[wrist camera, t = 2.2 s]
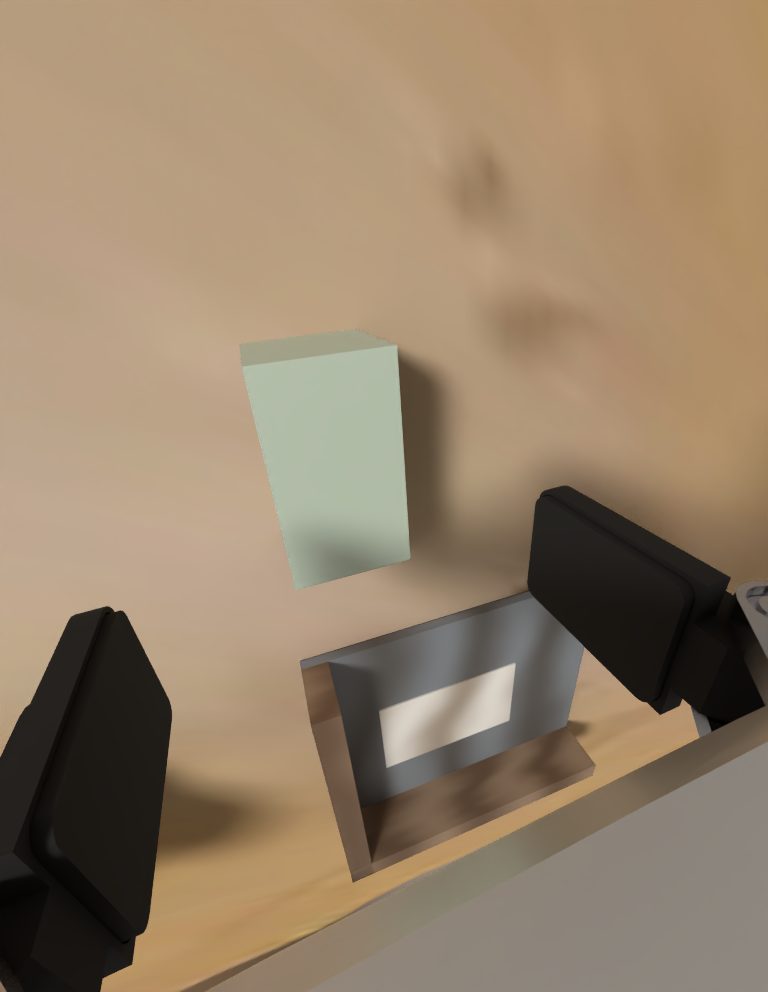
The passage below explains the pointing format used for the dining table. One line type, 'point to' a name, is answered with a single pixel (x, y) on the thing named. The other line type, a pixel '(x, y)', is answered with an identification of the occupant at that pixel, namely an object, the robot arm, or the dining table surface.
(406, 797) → the shallow tray
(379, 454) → the sage block
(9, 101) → the dining table surface
